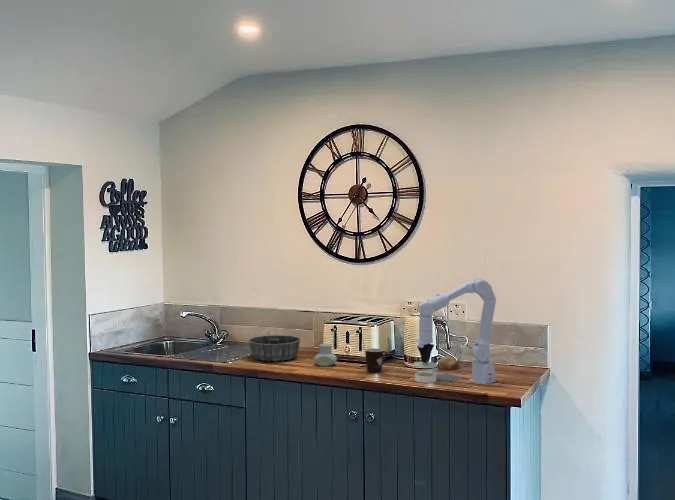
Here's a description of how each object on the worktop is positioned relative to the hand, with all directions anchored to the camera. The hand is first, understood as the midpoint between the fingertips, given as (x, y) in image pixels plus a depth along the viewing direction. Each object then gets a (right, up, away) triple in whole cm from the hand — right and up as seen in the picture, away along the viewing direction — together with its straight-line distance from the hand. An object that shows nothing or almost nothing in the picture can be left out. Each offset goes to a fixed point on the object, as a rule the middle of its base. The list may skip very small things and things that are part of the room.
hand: (425, 361), depth 308 cm
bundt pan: (-69, -7, +52) cm, 87 cm away
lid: (0, -2, 0) cm, 2 cm away
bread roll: (+14, -8, +26) cm, 31 cm away
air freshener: (-44, -8, +35) cm, 57 cm away
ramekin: (0, -9, 0) cm, 9 cm away
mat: (+10, -8, +6) cm, 14 cm away
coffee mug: (-20, -8, +21) cm, 30 cm away
